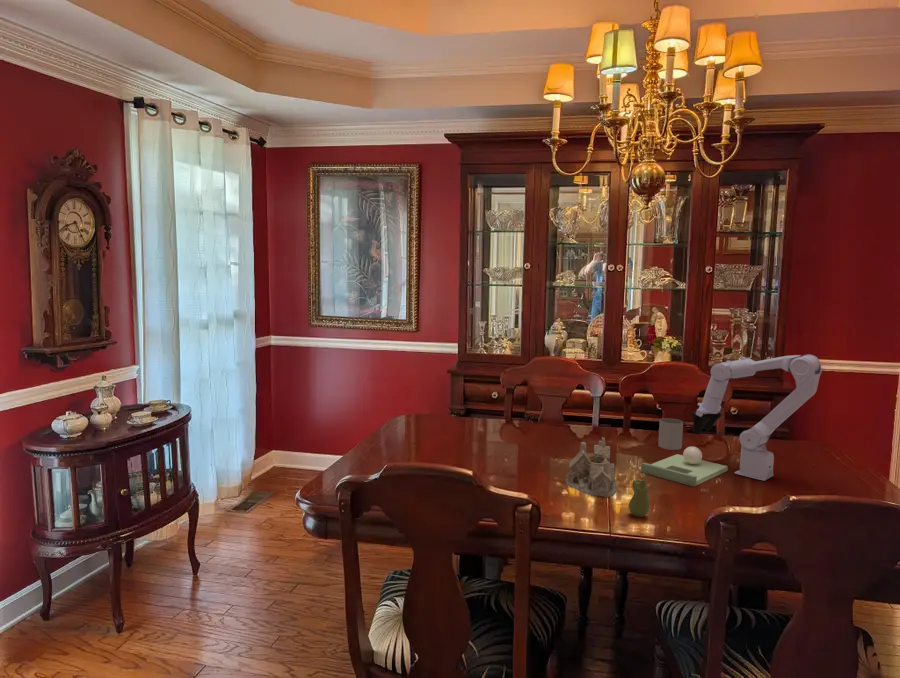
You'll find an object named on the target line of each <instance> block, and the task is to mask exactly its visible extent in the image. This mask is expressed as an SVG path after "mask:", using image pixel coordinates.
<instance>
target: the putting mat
mask: <svg viewBox="0 0 900 678" xmlns="http://www.w3.org/2000/svg"><path fill="white" fill-rule="evenodd" d="M640 468H641V471H640V472H641V473H643V474H647V475H650V476H653V477H657V478H660V479H664V480H668V481H672V482H675V483H679V484H682V485H686V486H690V487H694V488H695V487H696V486H699V485H700V484H702V483H704V482H707V481H709V480H711V479H713V478H715V477H717V476H719V475H722V474H724V473H726V472H727V471H729V470H728V468H729V467H728V465H725V464H724V465H723V464H720V463H716V462H715V463H714V462H711V461H707V460H704V459H701V461H700V462H699V463H698V464H694V465H692V464H689V463H687V462H686V461H685V460H684V457H683V454H679V453H678V454H677V453H676V454H674V455H671V456H669V457H667V458H663V459H661V460H658V461H656V462H653V463H647V462H642V463H641V467H640Z"/></svg>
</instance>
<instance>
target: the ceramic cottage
mask: <svg viewBox="0 0 900 678" xmlns="http://www.w3.org/2000/svg"><path fill="white" fill-rule="evenodd" d="M610 458H611V446H609V445H606V437H603V436H602V437H601V440H599V441H598V444H594V445H593V455H588V454H587V443H586V442H585V441H582V442H581V443H580V448H579V451H578V453H577V454H576V456H574V458H572V460H570V461H569V462H568V464H569V466H568V473H567V474H566V475H565V479H564V482H565V485H567V486H569V487H570V488H573V489H575V490H577V491H579V492H581V493H583V494H585V495H588V496H593V497H602V498H603V497H604V498H610V497H612V496H614V495H615V494H616V493H617V492H618V490H619V489H618V482H617V481H616V478H615V463H611V461H610Z"/></svg>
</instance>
